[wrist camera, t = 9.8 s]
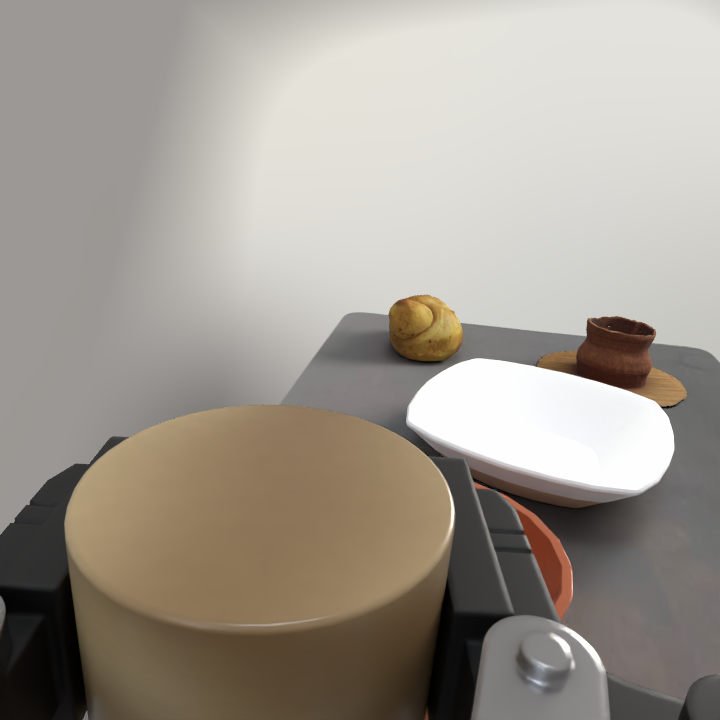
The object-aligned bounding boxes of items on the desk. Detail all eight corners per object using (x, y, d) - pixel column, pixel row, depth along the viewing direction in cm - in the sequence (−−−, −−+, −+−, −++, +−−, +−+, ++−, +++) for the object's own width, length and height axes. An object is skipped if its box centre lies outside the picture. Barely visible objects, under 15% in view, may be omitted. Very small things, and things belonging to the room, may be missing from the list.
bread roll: (388, 330, 87) (393, 276, 84) (456, 337, 87) (463, 282, 84) (383, 363, 75) (389, 301, 72) (461, 371, 75) (470, 308, 72)
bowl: (666, 448, 60) (680, 399, 58) (647, 578, 42) (667, 514, 40) (458, 391, 69) (464, 348, 67) (370, 478, 51) (375, 423, 49)
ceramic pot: (557, 342, 87) (566, 295, 85) (692, 374, 79) (707, 323, 77) (518, 380, 73) (528, 325, 70) (679, 424, 65) (697, 363, 62)
